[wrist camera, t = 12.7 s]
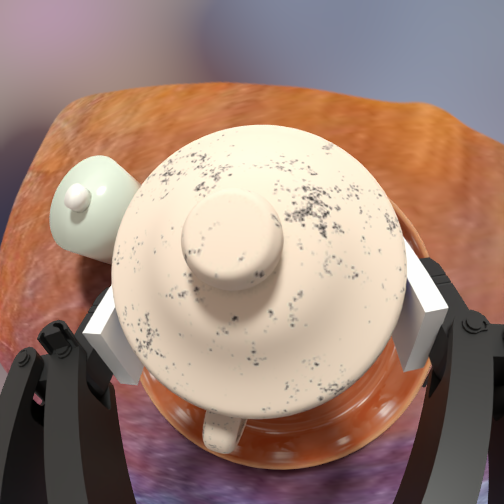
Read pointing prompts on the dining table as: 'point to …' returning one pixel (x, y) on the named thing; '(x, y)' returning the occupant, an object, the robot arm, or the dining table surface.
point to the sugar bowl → (91, 207)
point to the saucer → (313, 409)
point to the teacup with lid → (258, 275)
